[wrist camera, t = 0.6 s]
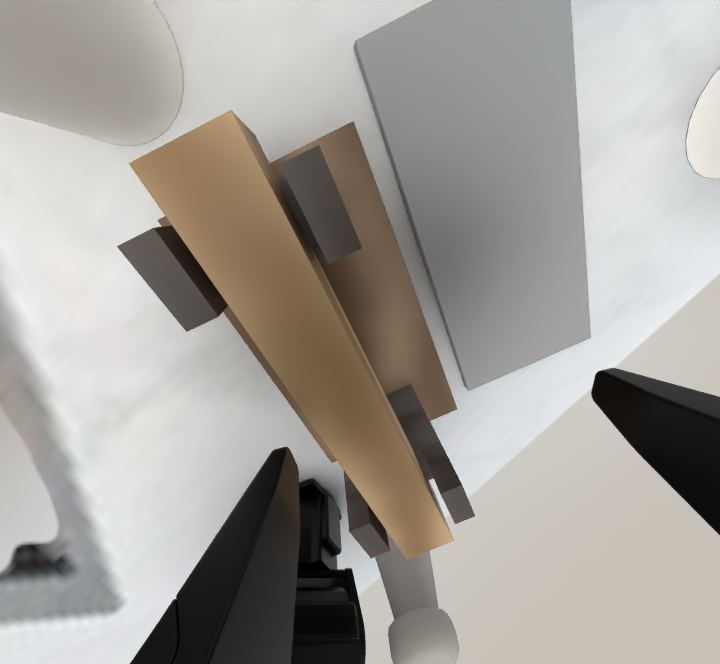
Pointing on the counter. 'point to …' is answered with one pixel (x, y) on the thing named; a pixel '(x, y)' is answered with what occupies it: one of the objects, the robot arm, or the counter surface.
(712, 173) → the wineglass
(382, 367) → the rail stand
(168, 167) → the oak rail
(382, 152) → the counter surface
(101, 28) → the cylindrical container
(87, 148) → the counter surface
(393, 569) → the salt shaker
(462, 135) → the grey mat
